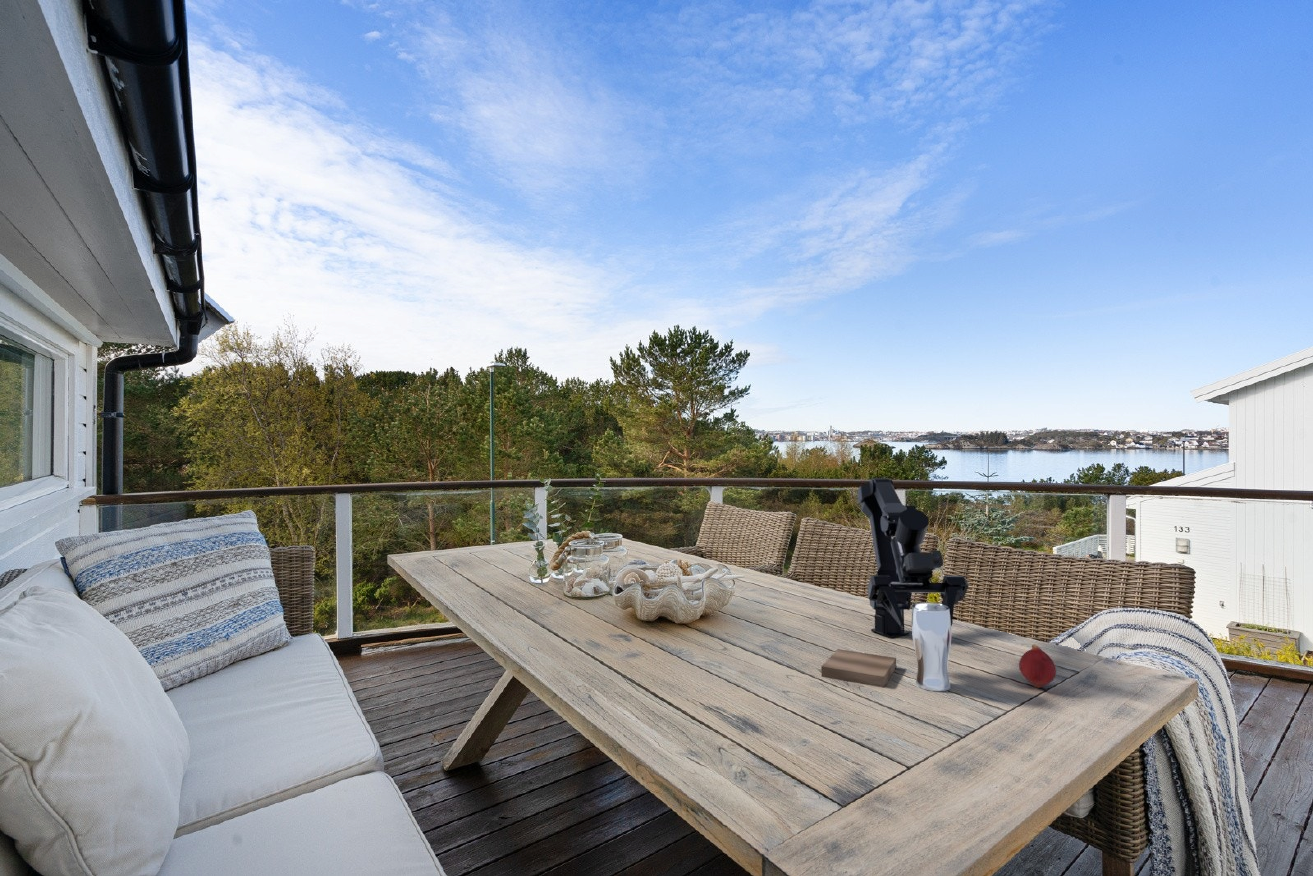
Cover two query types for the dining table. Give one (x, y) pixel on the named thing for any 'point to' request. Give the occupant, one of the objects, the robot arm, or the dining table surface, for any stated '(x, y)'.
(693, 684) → the dining table surface
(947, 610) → the beer glass
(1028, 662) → the onion
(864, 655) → the walnut board
